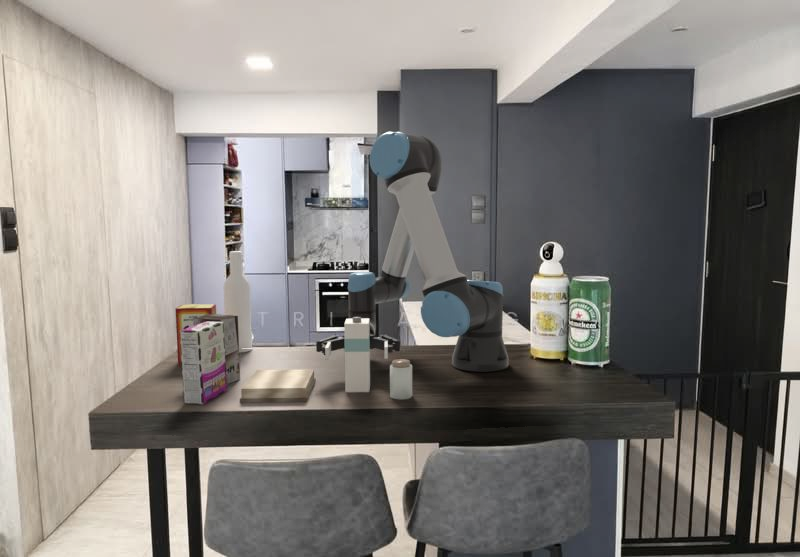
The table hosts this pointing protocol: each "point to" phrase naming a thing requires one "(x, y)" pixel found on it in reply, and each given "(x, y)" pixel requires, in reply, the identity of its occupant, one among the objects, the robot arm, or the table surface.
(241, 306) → the bottle
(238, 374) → the coffee box
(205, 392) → the candy bar box
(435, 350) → the table surface
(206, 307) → the baking soda box
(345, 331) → the carton
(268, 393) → the podium
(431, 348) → the table surface
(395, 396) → the ceramic jar
